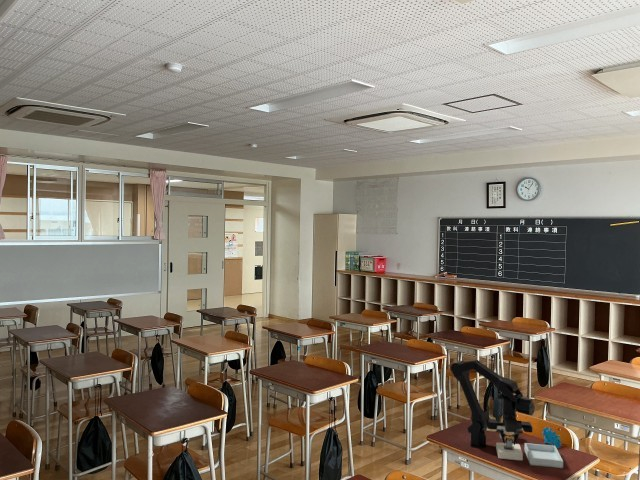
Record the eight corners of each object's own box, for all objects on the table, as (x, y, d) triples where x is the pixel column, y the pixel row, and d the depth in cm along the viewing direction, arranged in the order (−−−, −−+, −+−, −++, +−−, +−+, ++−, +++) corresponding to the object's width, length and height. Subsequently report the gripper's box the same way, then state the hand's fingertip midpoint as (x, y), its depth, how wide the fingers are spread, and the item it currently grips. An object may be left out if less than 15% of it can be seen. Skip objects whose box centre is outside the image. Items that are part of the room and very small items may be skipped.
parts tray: (530, 465, 223) (530, 458, 223) (524, 449, 239) (524, 443, 238) (563, 468, 220) (563, 461, 220) (555, 452, 236) (555, 445, 236)
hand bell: (479, 429, 263) (480, 397, 263) (486, 424, 270) (486, 393, 269) (496, 433, 258) (496, 401, 258) (502, 428, 264) (502, 396, 264)
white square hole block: (498, 458, 230) (498, 451, 230) (496, 448, 239) (496, 442, 239) (522, 460, 227) (522, 453, 227) (519, 450, 237) (519, 444, 237)
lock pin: (504, 456, 232) (504, 436, 232) (503, 452, 236) (503, 432, 236) (514, 457, 231) (515, 436, 231) (513, 452, 235) (513, 433, 235)
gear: (551, 447, 237) (540, 426, 243) (543, 453, 240) (531, 432, 247) (567, 446, 242) (556, 425, 249) (559, 451, 245) (547, 431, 252)
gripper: (488, 414, 227) (488, 449, 228) (534, 417, 223) (534, 454, 223) (486, 405, 238) (486, 439, 238) (530, 409, 234) (530, 443, 234)
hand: (509, 444), depth 233 cm, fingers closed on lock pin, 4 cm apart
